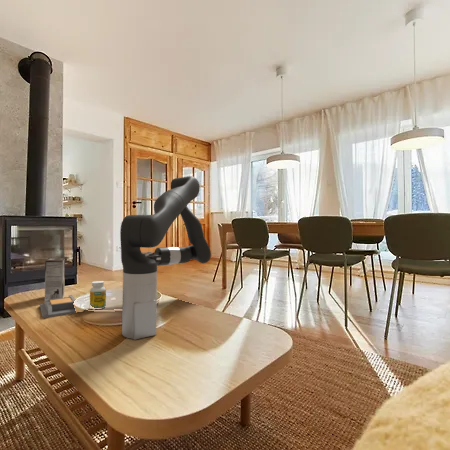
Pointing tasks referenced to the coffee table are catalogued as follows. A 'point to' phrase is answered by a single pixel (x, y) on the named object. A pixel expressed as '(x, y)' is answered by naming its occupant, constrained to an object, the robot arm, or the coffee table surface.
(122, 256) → the robot arm
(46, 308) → the rail mount
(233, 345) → the coffee table surface
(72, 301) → the snap plate
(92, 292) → the supplement bottle
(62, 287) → the coffee box
